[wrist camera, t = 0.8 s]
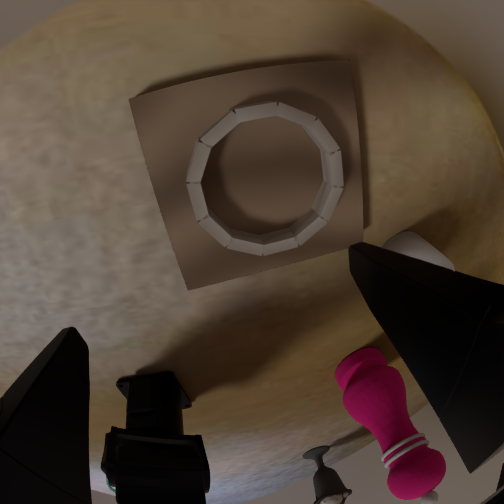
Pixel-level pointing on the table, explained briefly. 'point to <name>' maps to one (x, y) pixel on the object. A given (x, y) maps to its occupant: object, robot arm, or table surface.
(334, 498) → the sundae
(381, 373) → the pepper mill
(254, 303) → the table surface
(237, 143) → the mount board
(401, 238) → the lens
